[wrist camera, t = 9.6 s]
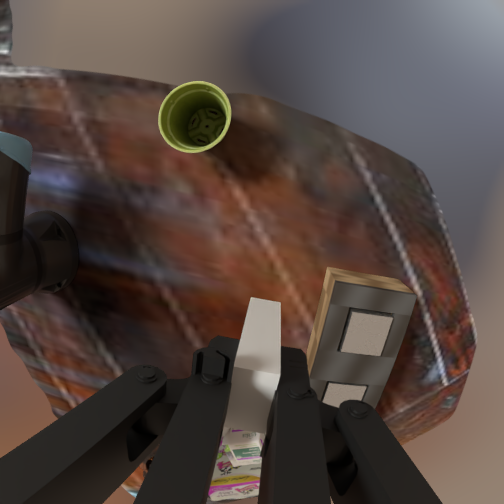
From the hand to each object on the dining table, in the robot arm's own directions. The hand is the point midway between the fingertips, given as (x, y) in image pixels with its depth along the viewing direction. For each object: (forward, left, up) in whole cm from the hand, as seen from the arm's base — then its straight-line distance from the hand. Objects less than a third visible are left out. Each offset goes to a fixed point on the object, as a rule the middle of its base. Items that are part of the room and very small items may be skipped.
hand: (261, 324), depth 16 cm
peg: (+15, -10, -32) cm, 37 cm away
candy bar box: (+2, -38, -33) cm, 50 cm away
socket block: (+15, -16, -32) cm, 39 cm away
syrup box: (+2, -30, -33) cm, 44 cm away
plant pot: (-12, +14, -33) cm, 37 cm away
